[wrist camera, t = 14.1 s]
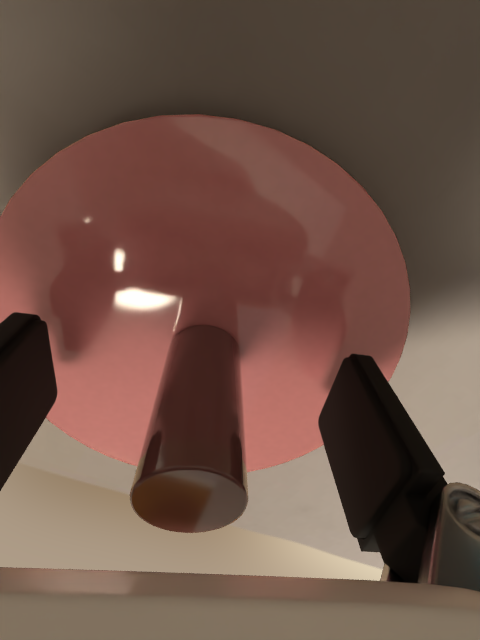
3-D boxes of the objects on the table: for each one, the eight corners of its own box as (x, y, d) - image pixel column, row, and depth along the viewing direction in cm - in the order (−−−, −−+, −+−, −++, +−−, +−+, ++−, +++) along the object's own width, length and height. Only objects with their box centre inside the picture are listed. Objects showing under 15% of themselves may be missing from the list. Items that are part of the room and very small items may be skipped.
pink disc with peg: (38, 439, 14) (-71, 621, 9) (-47, 61, 8) (-681, -85, 2) (326, 463, 16) (374, 629, 11) (471, 167, 9) (808, 226, 4)
